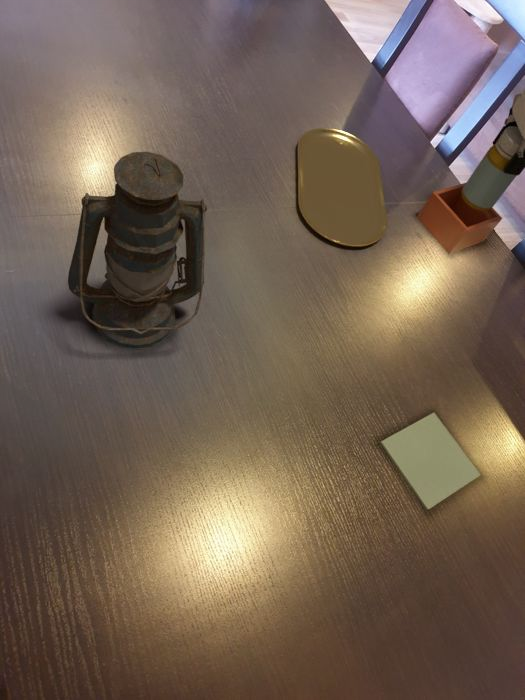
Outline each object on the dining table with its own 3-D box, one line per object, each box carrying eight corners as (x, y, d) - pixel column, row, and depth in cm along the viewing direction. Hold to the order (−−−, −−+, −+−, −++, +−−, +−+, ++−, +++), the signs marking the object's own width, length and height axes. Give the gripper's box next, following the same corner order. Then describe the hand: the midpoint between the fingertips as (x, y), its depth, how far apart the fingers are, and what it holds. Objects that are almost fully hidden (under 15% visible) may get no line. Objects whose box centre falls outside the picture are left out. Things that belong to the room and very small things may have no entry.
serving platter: (296, 240, 107) (299, 234, 106) (295, 125, 126) (297, 119, 125) (388, 258, 111) (391, 253, 110) (373, 144, 130) (376, 138, 129)
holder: (451, 205, 125) (468, 181, 119) (483, 241, 121) (502, 218, 115) (416, 216, 120) (432, 192, 114) (448, 254, 116) (467, 230, 110)
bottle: (496, 201, 115) (543, 139, 102) (485, 218, 111) (532, 155, 98) (466, 182, 116) (509, 119, 103) (454, 199, 112) (497, 135, 99)
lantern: (190, 283, 96) (224, 136, 71) (201, 356, 88) (242, 221, 64) (69, 282, 90) (60, 121, 65) (70, 360, 83) (60, 213, 58)
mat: (432, 413, 94) (434, 412, 93) (478, 476, 89) (481, 474, 89) (379, 442, 88) (381, 441, 88) (426, 511, 84) (428, 509, 84)
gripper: (608, 106, 87) (536, 194, 101) (571, 45, 96) (510, 133, 110) (566, 97, 85) (499, 188, 99) (532, 35, 94) (475, 126, 109)
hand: (505, 158), depth 105 cm, fingers closed on bottle, 7 cm apart
